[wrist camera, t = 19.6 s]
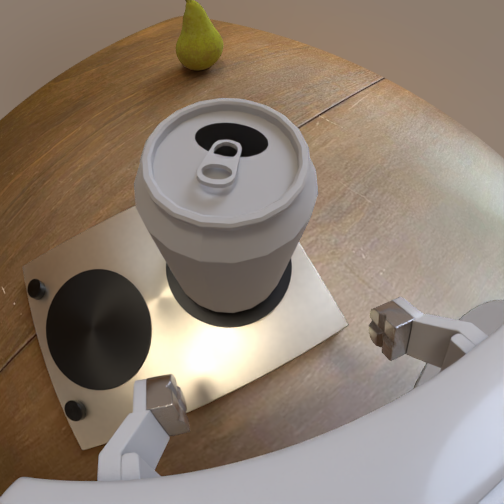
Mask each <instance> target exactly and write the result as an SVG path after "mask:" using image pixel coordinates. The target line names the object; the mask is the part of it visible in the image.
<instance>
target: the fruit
mask: <svg viewBox="0 0 504 504" xmlns="http://www.w3.org/2000/svg"><path fill="white" fill-rule="evenodd" d="M186 2H187V3H186V9H185V13H184V16H183V26H182V31H181V34H180V37H179V38H178V41H177V44H176V53H177V57H178V59H179V61H180V62H181V63H182V64H183V65H184V66H185V67H187V68H188V69H191V70H204V69H207V68H209V67H211V66H212V65H213V64H214V63H216V62H217V60H218V59H219V57H220V56H221V54H222V50H223V40H222V38H221V36H220V34H219V33H218V31H217V30H216V29H215V28H214V26H213V25H212V23H211V21H210V20H209V18H208V16H207V14H206V12H205V10H204V9H203V7H202V6H201V5H200V4H199V3H198V2H196V1H194V0H186Z"/></svg>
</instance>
